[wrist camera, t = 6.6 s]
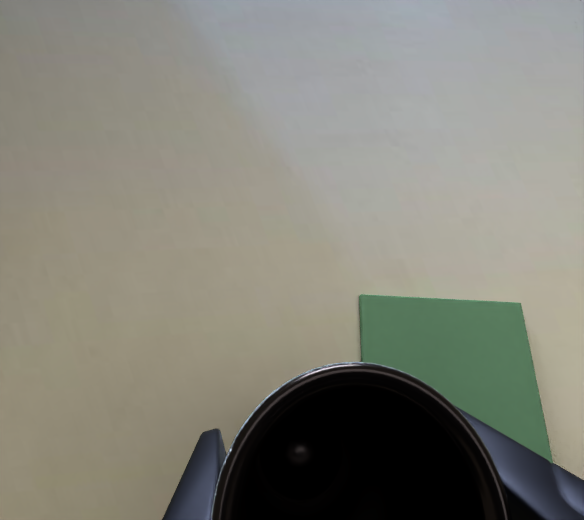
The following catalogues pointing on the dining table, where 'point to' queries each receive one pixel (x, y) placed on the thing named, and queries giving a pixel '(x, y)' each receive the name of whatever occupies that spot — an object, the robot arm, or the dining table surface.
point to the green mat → (461, 357)
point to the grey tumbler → (358, 453)
